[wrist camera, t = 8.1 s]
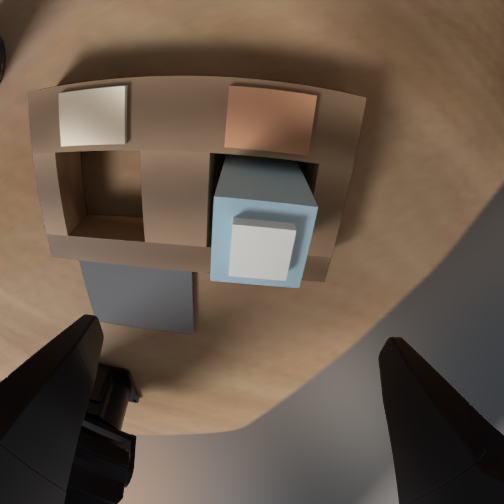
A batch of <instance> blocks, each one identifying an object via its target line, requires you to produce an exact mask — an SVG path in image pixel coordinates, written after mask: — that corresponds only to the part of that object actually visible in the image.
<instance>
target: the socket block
mask: <svg viewBox="0 0 504 504" xmlns="http://www.w3.org/2000/svg"><path fill="white" fill-rule="evenodd" d="M28 99H29V121H30V135H31V146H32V155H33V163H34V170H35V177H36V184H37V190H38V195H39V201H40V206H41V211H42V216H43V220H44V225H45V229H46V234H47V238H48V242H49V246H50V250H51V253H52V257H55V258H64V259H73V260H81V261H90V262H99V263H109V264H118V265H128V266H138V267H148V268H158V269H169V270H180V271H191V272H202V273H210V270H211V244H212V216H213V194H214V175H215V157H216V153H221V154H235V155H247V156H258V157H268V158H277V159H286V160H294V161H302V162H307V167H306V173H305V179H306V182H307V184H308V186H309V188H310V190H311V192H312V195H313V197H314V199H315V201H316V203H317V206H318V210H317V215H316V219H315V224H314V228H313V233H312V237H311V242H310V246H309V250H308V254H307V259H306V263H305V267H304V271H303V275H302V279H301V280H305V281H320V282H325V278H326V275H327V271H328V268H329V264H330V261H331V257H332V253H333V250H334V246H335V242H336V238H337V234H338V230H339V227H340V223H341V219H342V214H343V210H344V206H345V202H346V198H347V193H348V189H349V185H350V180H351V176H352V171H353V166H354V162H355V157H356V152H357V147H358V142H359V137H360V132H361V126H362V121H363V115H364V109H365V104H366V97H362V96H358V95H354V94H350V93H346V92H341V91H336V90H331V89H326V88H320V87H314V86H308V85H302V84H295V83H288V82H280V81H272V80H262V79H252V78H240V77H224V76H196V75H168V76H141V77H125V78H113V79H103V80H94V81H86V82H79V83H72V84H66V85H60V86H54V87H49V88H45V89H40V90H35V91H31V92H28ZM107 150H140V169H141V192H142V209H143V218H141V217H125V216H107V215H89V214H87V208H86V201H85V193H84V185H83V176H82V166H81V155H80V151H107Z"/></svg>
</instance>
